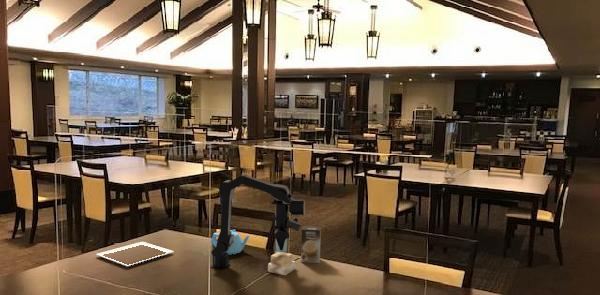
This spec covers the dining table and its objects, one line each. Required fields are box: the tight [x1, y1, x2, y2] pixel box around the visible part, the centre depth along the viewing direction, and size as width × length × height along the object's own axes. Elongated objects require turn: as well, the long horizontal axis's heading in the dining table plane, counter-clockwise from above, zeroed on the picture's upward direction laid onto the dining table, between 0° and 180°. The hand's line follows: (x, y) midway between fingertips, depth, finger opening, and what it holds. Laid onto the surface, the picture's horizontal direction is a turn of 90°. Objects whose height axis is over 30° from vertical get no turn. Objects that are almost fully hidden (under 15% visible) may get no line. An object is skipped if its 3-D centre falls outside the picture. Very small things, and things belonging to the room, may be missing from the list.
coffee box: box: [300, 225, 322, 264], centre depth 215 cm, size 9×6×16 cm
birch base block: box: [267, 260, 296, 276], centre depth 202 cm, size 9×9×4 cm
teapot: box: [210, 229, 250, 256], centre depth 228 cm, size 15×15×11 cm
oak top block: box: [270, 251, 293, 266], centre depth 202 cm, size 7×7×4 cm
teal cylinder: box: [275, 238, 288, 253], centre depth 201 cm, size 5×5×6 cm
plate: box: [95, 241, 175, 267], centre depth 219 cm, size 26×26×2 cm
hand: (281, 248), depth 201 cm, fingers closed on teal cylinder, 5 cm apart
